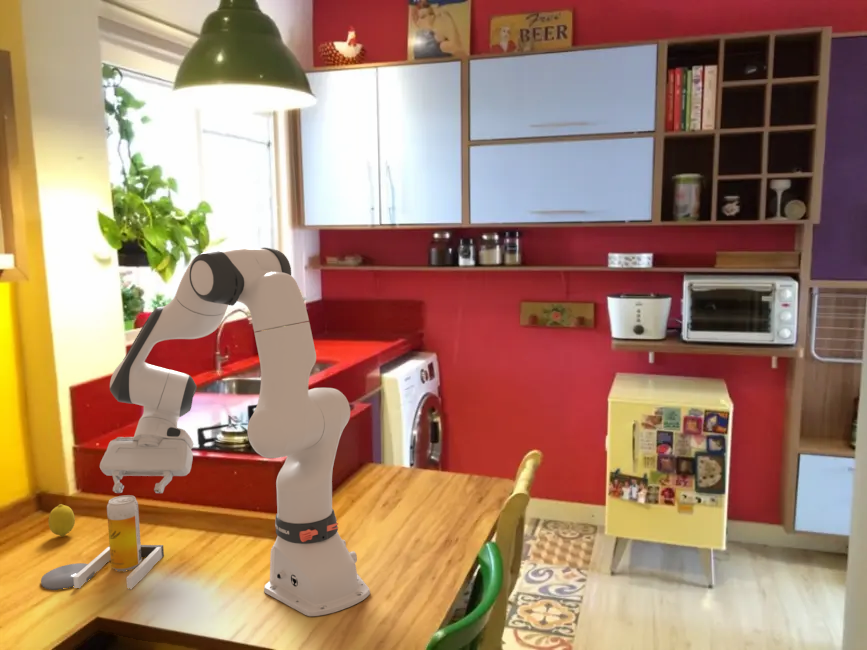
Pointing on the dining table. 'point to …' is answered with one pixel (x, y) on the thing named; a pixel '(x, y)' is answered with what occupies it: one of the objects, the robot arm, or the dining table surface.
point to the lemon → (61, 520)
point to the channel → (152, 557)
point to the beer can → (124, 532)
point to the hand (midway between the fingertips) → (137, 492)
